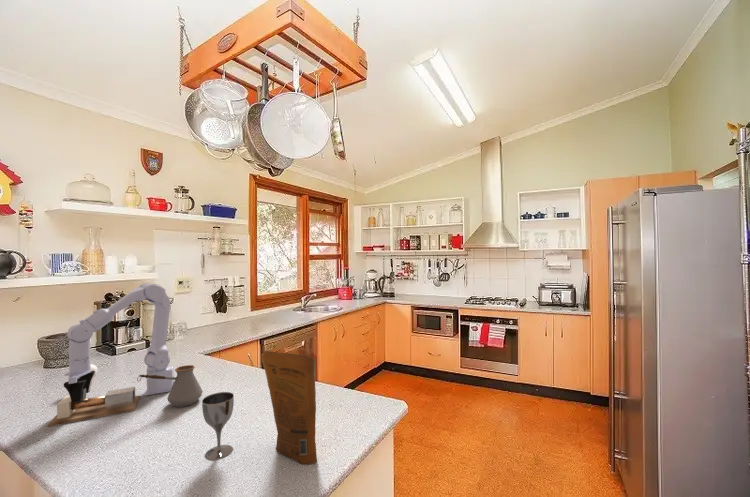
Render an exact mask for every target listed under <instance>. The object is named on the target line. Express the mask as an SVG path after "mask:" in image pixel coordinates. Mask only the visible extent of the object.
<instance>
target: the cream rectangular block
mask: <svg viewBox="0 0 750 497" xmlns="http://www.w3.org/2000/svg"><path fill="white" fill-rule="evenodd" d="M74 411H75V410H71V398H70V395H66V396H64V397H62V399H61V400H60V401H59V402H57V403H56V415H57V419H61V418H66V417H70V415H71V414H72V413H73V412H74Z"/></svg>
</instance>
